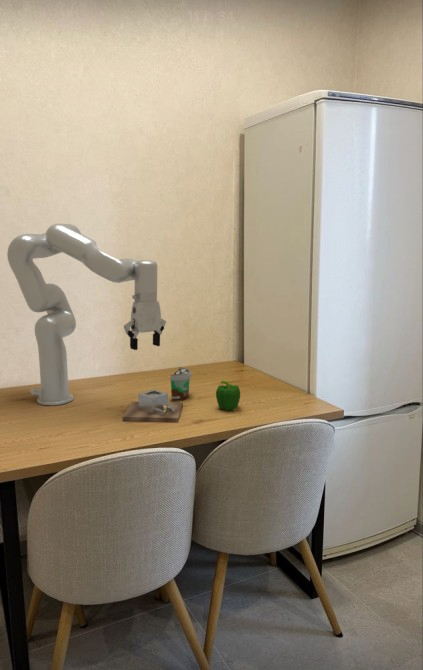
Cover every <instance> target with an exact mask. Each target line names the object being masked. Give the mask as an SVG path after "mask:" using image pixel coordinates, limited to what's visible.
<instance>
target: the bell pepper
mask: <svg viewBox="0 0 423 670" xmlns="http://www.w3.org/2000/svg"><path fill="white" fill-rule="evenodd" d="M220 383H221V384H225V385H218V387H217V389H216V391H215V397H216V401H217V405H218V407H219V409H221V410H225V411H234V410H237V408H238V406H239V404H240V403H239V402H240V399H241V391H240V387H239V385H233V384H230V382H229V381H227V380H224V379H223V380H220Z"/></svg>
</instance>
